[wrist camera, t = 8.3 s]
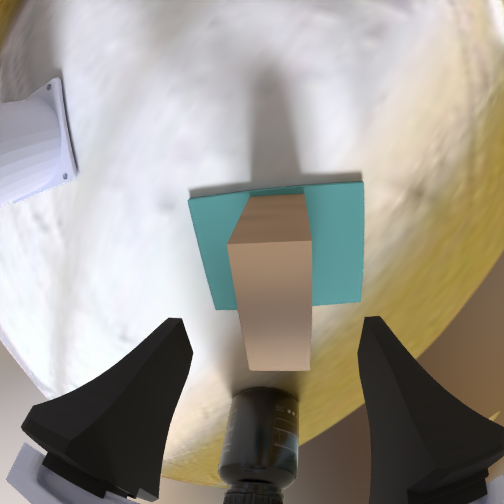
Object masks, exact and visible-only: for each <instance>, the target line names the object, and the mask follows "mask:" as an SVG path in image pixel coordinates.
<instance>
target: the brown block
mask: <svg viewBox="0 0 504 504" xmlns="http://www.w3.org/2000/svg"><path fill="white" fill-rule="evenodd" d="M227 248H228V254H229V260H230V266H231V272H232V278H233V284H234V289H235V295H236V301H237V306H238V312H239V317H240V323H241V328H242V333H243V339H244V344H245V349H246V355H247V360H248V365H249V370H253V371H308V370H310V355H311V327H312V239H311V232H310V226H309V219H308V213H307V206H306V200H305V194H285V195H268V196H253V197H249V199H248V201H247V203H246V205H245V207H244V210H243V212H242V214H241V216H240V218H239V220H238V222H237V224H236V226H235V228H234V230H233V232H232V234H231V237H230V239H229V241H228V243H227Z"/></svg>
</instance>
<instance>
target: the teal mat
mask: <svg viewBox="0 0 504 504" xmlns="http://www.w3.org/2000/svg"><path fill="white" fill-rule="evenodd" d="M285 194H305V200H306V206H307V213H308V219H309V226H310V232H311V239H312V306H317V305H330V304H342V303H354V302H361V291H362V277H363V257H364V183H363V182H362V181H358V182H340V183H325V184H311V185H299V186H288V187H278V188H268V189H258V190H250V191H241V192H233V193H225V194H217V195H210V196H203V197H196V198H190V199H189V200H188V205H189V209H190V213H191V217H192V221H193V226H194V230H195V234H196V238H197V242H198V246H199V250H200V254H201V257H202V261H203V265H204V269H205V273H206V276H207V280H208V284H209V287H210V291H211V295H212V298H213V302H214V305H215V309H216V310H238V306H237V301H236V295H235V289H234V284H233V278H232V272H231V266H230V260H229V254H228V248H227V243H228V241H229V239H230V237H231V234H232V232H233V230H234V228H235V226H236V224H237V222H238V220H239V218H240V216H241V214H242V212H243V210H244V207H245V205H246V203H247V201H248V199H249V197H253V196H268V195H285Z"/></svg>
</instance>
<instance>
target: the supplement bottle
mask: <svg viewBox="0 0 504 504" xmlns="http://www.w3.org/2000/svg"><path fill="white" fill-rule="evenodd" d="M298 437H299V406H298V403H297V401H296V400H295V399H294V398H293V397H292V396H291V395H289V394H288V393H286V392H283V391H281V390H277V389H272V388H252V389H248V390H245V391H242V392H240V393H239V394H237V395H236V396H235V397H234V398H233V400H232V403H231V407H230V411H229V416H228V421H227V426H226V431H225V436H224V441H223V446H222V450H221V455H220V460H219V465H218V474H219V477H220V478H221V480H222V481H223V482H224V483H226V484H227V485H229V489H226V490H225V493H224V495H225V497H224V503H223V504H283V500H284V495H283V494H281V492H282V490H283V489H286V488H288V487H289V486H290V485H292V484H293V483H294V481H295V480H296V477H297V465H298Z"/></svg>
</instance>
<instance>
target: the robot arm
mask: <svg viewBox="0 0 504 504" xmlns="http://www.w3.org/2000/svg"><path fill="white" fill-rule="evenodd" d="M50 87H51V89H50ZM66 173H67V176H66ZM76 177H77V170H76V166H75V161H74V157H73V153H72V148H71V143H70V138H69V133H68V128H67V122H66V116H65V109H64V103H63V95H62V86H61V80H60V78H58V77H57V78H53V79H51V80H50V81H48V82H47V83H45V84H44V85H43V86H41V87H40V88H39V89H37V90H36V91H34V92H33V93H32V94H31V95H29V96H28V97H27V98H25V99H24V100H18V101H12V102H6V103H1V104H0V208H2V207H3V206H5V205H7V204H9V203H11V202H14V203H17V202H20V201H22V200H24V199H27V198H29V197H31V196H34V195H36V194H38V193H41V192H43V191H46V190H48V189H51V188H54V187H56V186H59V185H62V184H64V183H67V182H70V181H72V180H74V179H76ZM357 354H358V364H359V373H360V379H361V384H362V389H363V394H364V398H365V403H366V408H367V413H368V418H369V425H370V436H371V487H370V498H369V504H504V474H503V475H501V476H499V477H497V478H495V479H493V480H492V481H490V482H488V483H486V482H485V478H486V477H488V475H489V473H488V467H489V466H491V465H492V464H494V463H495V462H497V461H498V460H499V459H500V458H502V457H503V456H504V427H503V426H501V425H499V424H497V423H495V422H493V421H491V420H489V419H487V418H485V417H483V416H482V415H480V414H478V413H477V412H475V411H474V410H472V409H470V408H469V407H467V406H466V405H465V404H463V403H462V402H461V401H459V400H458V399H457V398H455V397H454V396H453V395H451V394H450V393H449V392H448V391H447V390H445V389H444V388H443V387H442V386H441V385H440V384H439V383H437V382H436V381H435V380H434V379H433V378H432V377H431V376H430V375H429V374H428V373H427V372H426V371H425V370H424V369H423V368H422V366H421V365H420V364H419V363H418V362H417V361H416V360H415V359H414V358H413V357H412V355H411V354H410V353H409V352H408V351H407V349H406V348H405V347H404V346H403V345H402V343H401V342H400V341H399V340H398V338H397V337H396V336H395V335H394V333H393V332H392V331H391V330H390V328H389V327H388V326H387V324H386V323H385V322H384V321H383V319H382V318H381V317H380V316H373V317H365V319H364V324H363V329H362V334H361V339H360V344H359V348H358V353H357ZM192 356H193V350H192V347H191V344H190V341H189V338H188V336H187V333H186V330H185V327H184V323H183V320H182V318H168V319H166V320H165V321H164V322H163V323H162V324H161V325H160V326H159V327H158V328H156V329H155V330H154V331H153V332H152V333H151V334H150V335H149V336H148V337H147V338H146V339H144V340H143V341H142V342H141V343H140V344H139V345H138V346H137V347H136V348H135V349H133V350H132V351H131V352H130V353H129V354H127V355H126V356H125V357H124V358H122V359H121V360H120V361H119V362H118V363H116V364H115V365H114V366H112V367H111V368H110V369H108V370H107V371H106V372H104V373H103V374H101V375H100V376H98V377H97V378H95V379H93V380H92V381H90V382H88V383H86V384H85V385H83V386H81V387H79V388H77V389H76V390H73V391H71V392H69V393H67V394H65V395H63V396H60V397H58V398H55V399H53V400H50V401H47V402H44V403H41V404H38V405H34V406H33V407H32V409H31V410H30V412H29V413H28V415H27V417H26V419H25V421H24V422H23V424H22V426H21V428H22V430H23V431H24V432H25V433H26V434H27V435H28V436H29V437H30V438H31V439H33V440H34V441H35V442H36V443H38V444H39V445H40V446H41V447H42V448H43V449H45V450H46V451H47V452H48V453H47V455H46V456H45V455H43V454H42V453H41V452H39V451H38V450H36V449H35V448H33V447H32V446H30V445H29V444H27V443H24V445H23V446H22V448H21V450H20V452H19V454H18V456H17V458H16V460H15V462H14V464H13V466H12V468H11V470H10V472H9V474H8V476H7V479H6V480H7V482H8V483H10V484H11V485H12V486H13V487H14V488H15V489H16V490H17V491H18V492H19V493H21V494H22V495H23V496H24V497H25V498H26V499H27V500H28V501H29V502H30V503H31V504H139V503H136V502H134V501H131V500H128V499H127V496H129V497H131V498H134V499H136V497H138V498H141V499H144V500H147V501H150V502H153V501H156V500H157V499H158V498H159V485H160V475H161V468H162V461H163V455H164V450H165V444H166V440H167V435H168V431H169V427H170V423H171V420H172V417H173V414H174V411H175V408H176V406H177V403H178V400H179V398H180V395H181V393H182V390H183V387H184V385H185V382H186V379H187V376H188V374H189V370H190V366H191V361H192Z"/></svg>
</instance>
